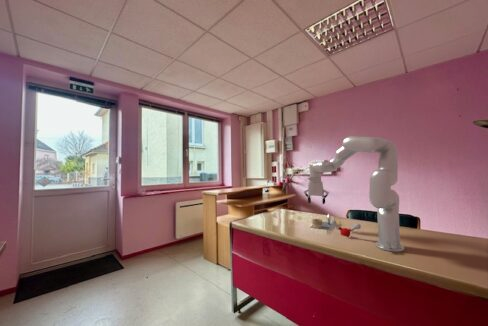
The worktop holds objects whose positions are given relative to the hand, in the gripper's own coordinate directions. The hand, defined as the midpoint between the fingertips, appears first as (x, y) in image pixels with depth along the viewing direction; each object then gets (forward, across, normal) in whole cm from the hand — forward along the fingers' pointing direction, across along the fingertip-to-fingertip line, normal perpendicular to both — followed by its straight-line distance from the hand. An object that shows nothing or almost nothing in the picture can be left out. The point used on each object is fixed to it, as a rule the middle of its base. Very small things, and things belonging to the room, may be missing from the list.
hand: (316, 203), depth 145 cm
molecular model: (+18, +19, -9) cm, 28 cm away
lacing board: (+18, +3, +6) cm, 20 cm away
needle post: (+17, +6, +11) cm, 21 cm away
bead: (+17, 0, 0) cm, 17 cm away
